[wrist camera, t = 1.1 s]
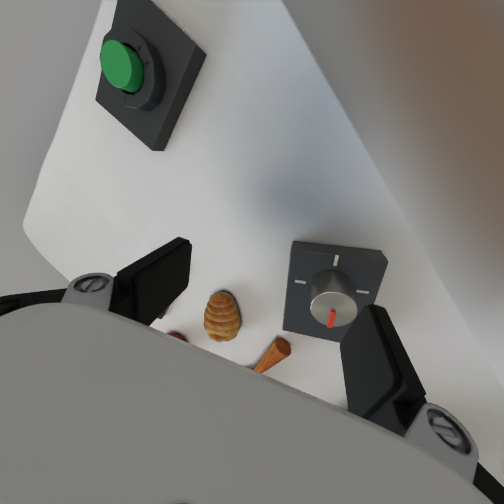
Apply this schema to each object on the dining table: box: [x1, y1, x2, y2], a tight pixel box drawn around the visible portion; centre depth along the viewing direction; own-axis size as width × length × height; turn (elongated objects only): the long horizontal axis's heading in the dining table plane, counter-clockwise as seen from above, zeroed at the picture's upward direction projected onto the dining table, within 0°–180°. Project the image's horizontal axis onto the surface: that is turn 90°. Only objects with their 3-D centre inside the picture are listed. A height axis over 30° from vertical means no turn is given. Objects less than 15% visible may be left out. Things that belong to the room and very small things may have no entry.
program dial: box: [311, 270, 358, 328], centre depth 24 cm, size 5×5×5 cm
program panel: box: [283, 241, 388, 343], centre depth 28 cm, size 14×11×3 cm
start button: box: [100, 40, 144, 92], centre depth 20 cm, size 4×4×2 cm
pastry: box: [204, 292, 240, 342], centre depth 36 cm, size 9×7×4 cm
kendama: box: [254, 338, 291, 373], centre depth 39 cm, size 6×6×20 cm
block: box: [95, 0, 206, 151], centre depth 23 cm, size 12×9×4 cm
